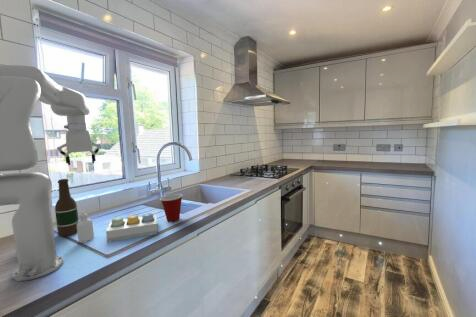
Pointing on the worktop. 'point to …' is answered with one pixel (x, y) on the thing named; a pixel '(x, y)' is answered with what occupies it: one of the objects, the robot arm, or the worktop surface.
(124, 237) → the white slotted frame
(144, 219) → the button slate
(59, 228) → the beer bottle
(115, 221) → the button sage
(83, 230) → the eye dropper bottle
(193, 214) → the worktop surface
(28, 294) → the worktop surface
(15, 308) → the worktop surface
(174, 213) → the plastic cup
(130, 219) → the button amber
